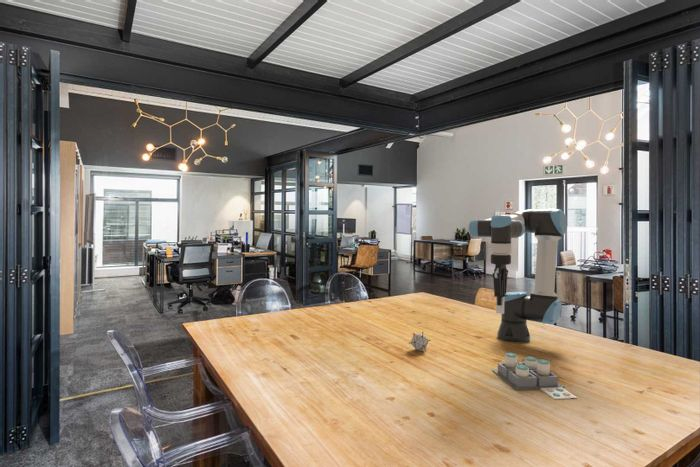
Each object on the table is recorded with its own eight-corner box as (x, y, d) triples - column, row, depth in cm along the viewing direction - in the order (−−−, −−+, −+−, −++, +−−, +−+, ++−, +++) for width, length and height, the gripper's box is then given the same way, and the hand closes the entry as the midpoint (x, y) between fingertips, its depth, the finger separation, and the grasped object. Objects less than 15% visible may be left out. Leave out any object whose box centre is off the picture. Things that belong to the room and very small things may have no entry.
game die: (423, 359, 180) (429, 346, 174) (405, 351, 182) (411, 338, 176) (427, 345, 187) (433, 331, 181) (409, 337, 189) (416, 324, 183)
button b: (513, 364, 155) (513, 352, 155) (519, 368, 151) (519, 356, 150) (502, 365, 155) (502, 352, 154) (508, 369, 150) (508, 356, 150)
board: (535, 369, 159) (535, 360, 159) (564, 388, 141) (564, 378, 141) (492, 370, 157) (492, 361, 157) (515, 390, 139) (516, 380, 139)
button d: (533, 368, 156) (533, 356, 156) (539, 372, 152) (539, 360, 151) (522, 368, 155) (522, 356, 155) (528, 373, 151) (528, 360, 151)
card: (561, 388, 141) (561, 386, 141) (577, 398, 133) (577, 396, 133) (540, 389, 140) (540, 387, 140) (554, 399, 132) (554, 397, 132)
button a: (524, 377, 147) (524, 364, 147) (531, 382, 143) (531, 368, 143) (513, 377, 147) (513, 364, 147) (519, 382, 142) (519, 369, 142)
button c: (545, 371, 148) (545, 358, 148) (552, 376, 144) (552, 363, 143) (533, 372, 147) (534, 359, 147) (540, 376, 143) (541, 363, 143)
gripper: (496, 252, 166) (495, 308, 167) (485, 254, 156) (485, 314, 157) (515, 253, 161) (514, 311, 163) (505, 255, 151) (505, 317, 152)
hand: (500, 312), depth 160 cm, fingers closed
